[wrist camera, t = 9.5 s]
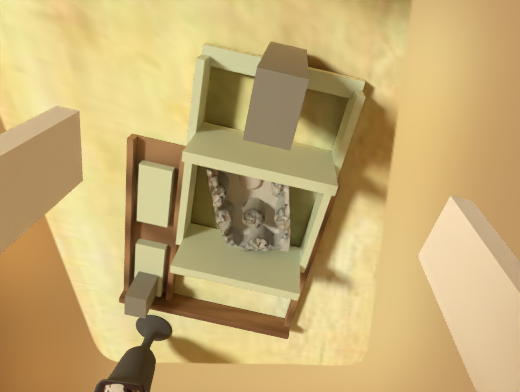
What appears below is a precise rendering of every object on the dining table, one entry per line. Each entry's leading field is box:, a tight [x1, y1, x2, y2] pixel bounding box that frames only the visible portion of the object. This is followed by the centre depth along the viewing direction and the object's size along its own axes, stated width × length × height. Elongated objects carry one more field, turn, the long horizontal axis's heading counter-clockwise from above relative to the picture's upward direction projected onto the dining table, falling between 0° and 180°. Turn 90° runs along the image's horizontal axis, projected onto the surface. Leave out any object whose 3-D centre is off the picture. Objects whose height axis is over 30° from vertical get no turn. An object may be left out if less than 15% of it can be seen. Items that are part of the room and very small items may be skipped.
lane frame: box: [119, 134, 340, 339], centre depth 41 cm, size 21×21×2 cm
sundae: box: [94, 315, 171, 392], centre depth 44 cm, size 7×7×15 cm
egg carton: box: [207, 168, 290, 252], centre depth 37 cm, size 11×8×4 cm
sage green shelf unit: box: [170, 42, 366, 301], centre depth 31 cm, size 21×14×12 cm, turn 168°
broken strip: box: [125, 160, 175, 318], centre depth 40 cm, size 18×3×5 cm, turn 168°
